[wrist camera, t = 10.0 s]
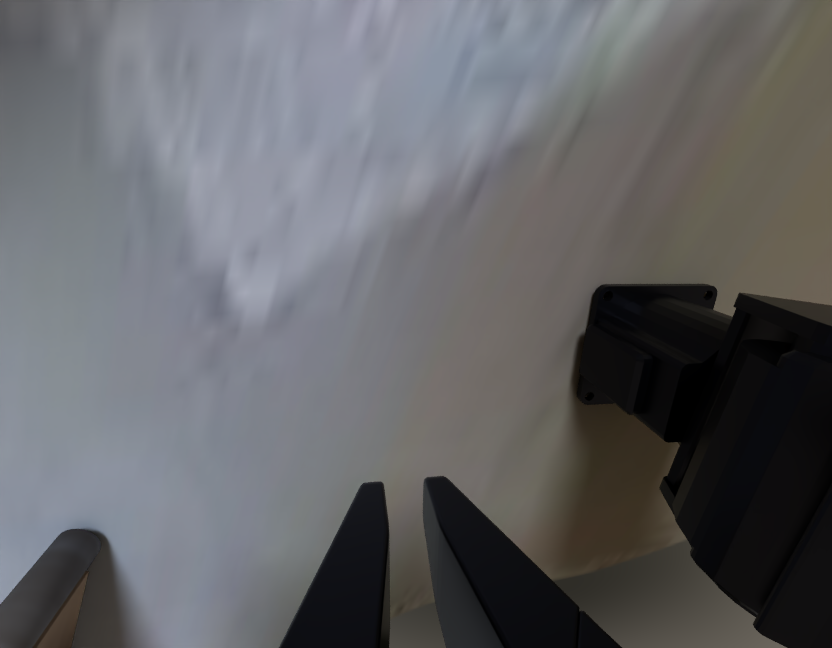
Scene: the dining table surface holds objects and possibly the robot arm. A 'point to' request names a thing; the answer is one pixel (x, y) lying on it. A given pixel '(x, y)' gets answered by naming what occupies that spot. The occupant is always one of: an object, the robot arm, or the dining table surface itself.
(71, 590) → the walnut gate
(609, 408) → the dining table surface
